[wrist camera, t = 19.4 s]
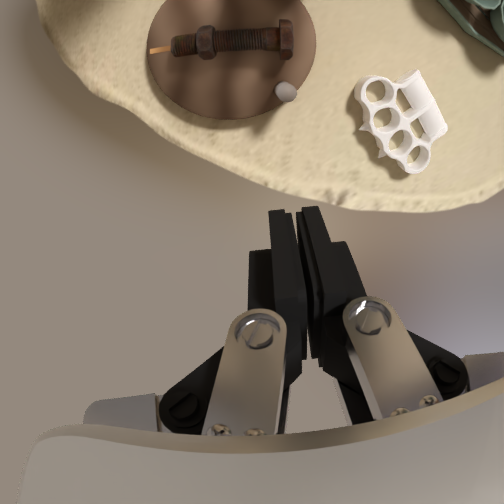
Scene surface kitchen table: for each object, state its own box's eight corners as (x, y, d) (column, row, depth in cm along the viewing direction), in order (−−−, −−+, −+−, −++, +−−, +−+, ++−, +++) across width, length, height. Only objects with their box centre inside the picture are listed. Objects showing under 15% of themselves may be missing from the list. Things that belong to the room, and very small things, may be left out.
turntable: (156, 123, 39) (141, 134, 33) (148, -14, 25) (131, -23, 19) (311, 118, 38) (321, 128, 33) (313, -24, 24) (323, -36, 19)
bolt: (180, 43, 31) (289, 37, 30) (177, 71, 32) (291, 65, 31) (168, 21, 25) (292, 13, 25) (163, 51, 26) (295, 42, 25)
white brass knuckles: (448, 138, 39) (389, 181, 45) (400, 51, 31) (332, 97, 37) (458, 145, 37) (397, 189, 43) (410, 51, 29) (338, 100, 35)
